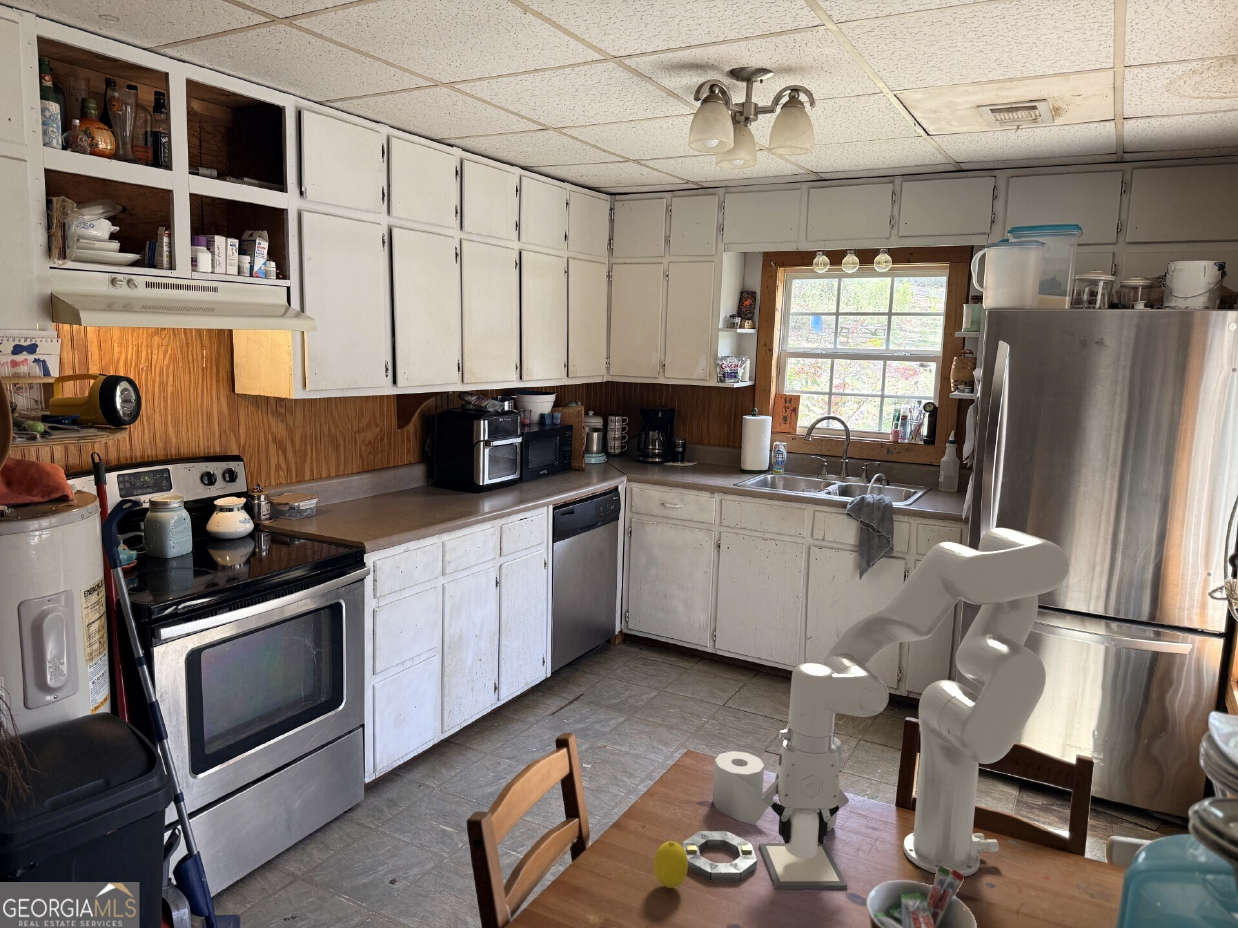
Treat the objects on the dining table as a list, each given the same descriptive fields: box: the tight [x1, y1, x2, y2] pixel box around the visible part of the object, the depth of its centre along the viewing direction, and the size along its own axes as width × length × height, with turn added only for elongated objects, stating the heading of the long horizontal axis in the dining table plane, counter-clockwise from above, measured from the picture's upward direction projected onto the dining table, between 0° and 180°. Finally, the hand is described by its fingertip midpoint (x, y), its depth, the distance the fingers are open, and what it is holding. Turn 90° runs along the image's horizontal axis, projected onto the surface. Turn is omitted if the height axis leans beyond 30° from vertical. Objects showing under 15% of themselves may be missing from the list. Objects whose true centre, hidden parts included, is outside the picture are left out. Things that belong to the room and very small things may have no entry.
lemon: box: [653, 840, 689, 889], centre depth 134 cm, size 6×6×8 cm
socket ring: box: [681, 830, 758, 883], centre depth 142 cm, size 12×12×2 cm
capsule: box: [785, 808, 819, 858], centre depth 140 cm, size 5×5×8 cm
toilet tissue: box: [712, 750, 769, 826], centre depth 159 cm, size 9×13×9 cm
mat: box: [758, 842, 848, 890], centre depth 141 cm, size 12×12×1 cm
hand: (801, 838), depth 141 cm, fingers closed on capsule, 5 cm apart
